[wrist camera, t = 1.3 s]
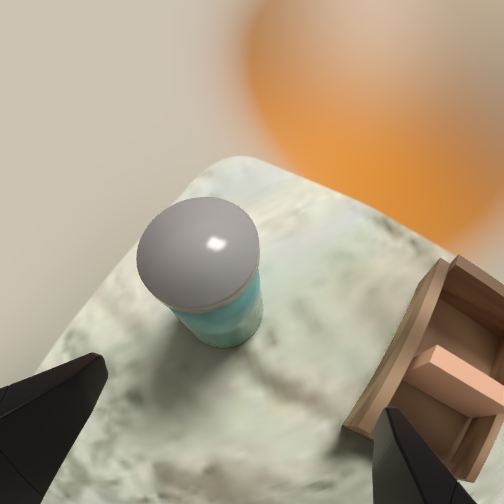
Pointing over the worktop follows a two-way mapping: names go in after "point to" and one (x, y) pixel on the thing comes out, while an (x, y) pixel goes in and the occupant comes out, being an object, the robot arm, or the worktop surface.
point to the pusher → (455, 383)
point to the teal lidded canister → (205, 268)
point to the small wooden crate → (456, 342)
